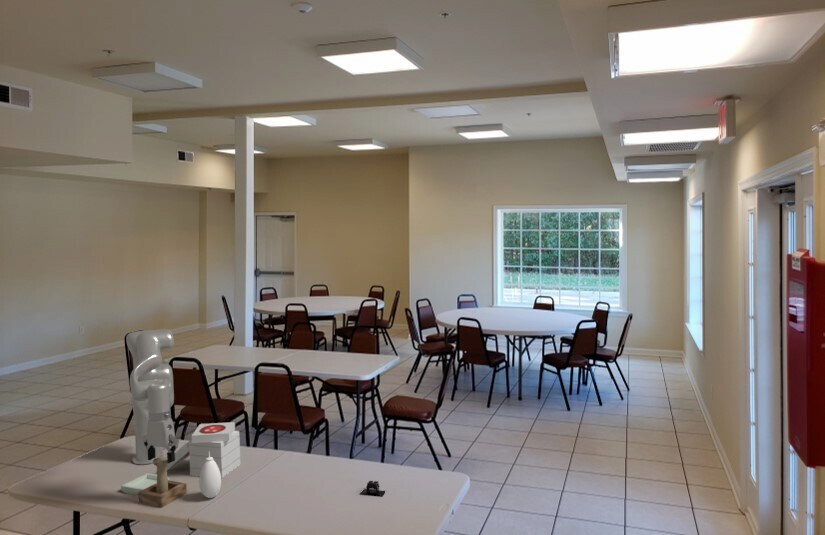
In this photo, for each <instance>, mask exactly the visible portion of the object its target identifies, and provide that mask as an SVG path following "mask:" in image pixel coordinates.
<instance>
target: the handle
mask: <svg viewBox="0 0 825 535" xmlns="http://www.w3.org/2000/svg"><path fill="white" fill-rule="evenodd" d="M167 464H169V463H168V462H167V456H166V457H165V456H163V457H159V458H155V459H153V463H152V465H154V466H156V475H157V492H158V493H159V494H162V493H164V492H166V491H168V478H167V477H168V472H167V471H168V470H167V469H166V465H167Z"/></svg>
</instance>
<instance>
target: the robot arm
mask: <svg viewBox="0 0 825 535" xmlns="http://www.w3.org/2000/svg"><path fill="white" fill-rule="evenodd" d="M125 339H126V340H125V341H126V345H127V348H128V350H129V352H130V353H131V356H132V363H133V369H132V370H131V372H130V377H129V385H130V394H131V400H130V401H131V407H132V411H133V418H134V436H135V438H134V439H135V440H134V441H135V456H134V457H133V458H132V463H133V464H135V465H149V464H150V465H151V464H153V459H155V458H159V457H164V454H163V452H162V451H163V450H165V449H166V450H167V452H166V458H167V462H168V463H171V462H173V461H175V453H176V452H175V451H177V449H178V446H179V444H180V440H179V439H178V438H176V433H175V426H174V421H173V419H172V418H171V417H172V414H171V407H172V406H173V405H174V402H175V393H174V392H175V391H174V388H175V387H174V374H173V373H174V372H173V368H172V366H171V365H170V364H168V363H162V362H163V357H162V353H161V351H165V350H172V349H173V348H174V346H175V337H174V335H173V331H172V330H170V329H169V328H159V329H145V330H138V331H133V332H130V333H128V334H126V338H125Z"/></svg>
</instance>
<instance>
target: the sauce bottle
mask: <svg viewBox="0 0 825 535" xmlns="http://www.w3.org/2000/svg"><path fill="white" fill-rule="evenodd" d="M198 482H199V489H200V492H201V493H202V495H203V496H204V497H206V498H208V499H212V498H214V497H216V495H219V492H220V490H221V487H222V478H221V474H220V470H219V468H218V466H217V464H216V462H215V461H214V460H213V457H210V452H209V457H208V458H206V461H205V463H204V464H203V466H202V469H201V473H200V476H199V481H198Z"/></svg>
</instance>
